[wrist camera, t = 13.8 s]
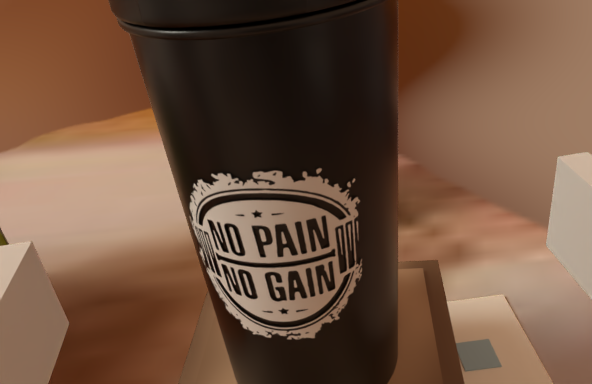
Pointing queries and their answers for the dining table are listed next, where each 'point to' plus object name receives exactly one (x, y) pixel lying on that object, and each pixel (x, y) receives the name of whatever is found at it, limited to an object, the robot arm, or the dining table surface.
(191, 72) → the water bottle
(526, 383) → the page
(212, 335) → the plinth
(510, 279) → the dining table surface
